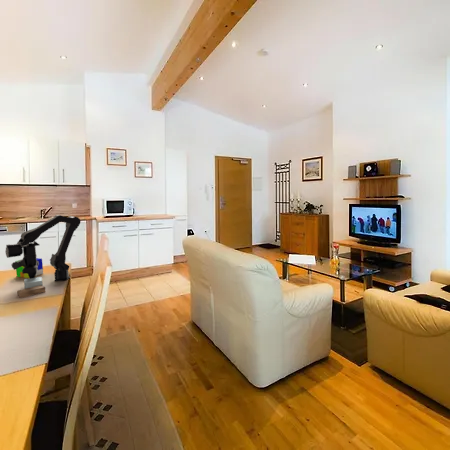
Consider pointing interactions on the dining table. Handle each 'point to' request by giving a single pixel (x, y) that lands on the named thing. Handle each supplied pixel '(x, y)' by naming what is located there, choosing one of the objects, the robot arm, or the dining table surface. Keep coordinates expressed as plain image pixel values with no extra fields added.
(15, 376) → the dining table surface
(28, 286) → the block
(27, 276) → the puzzle toy
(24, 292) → the board
